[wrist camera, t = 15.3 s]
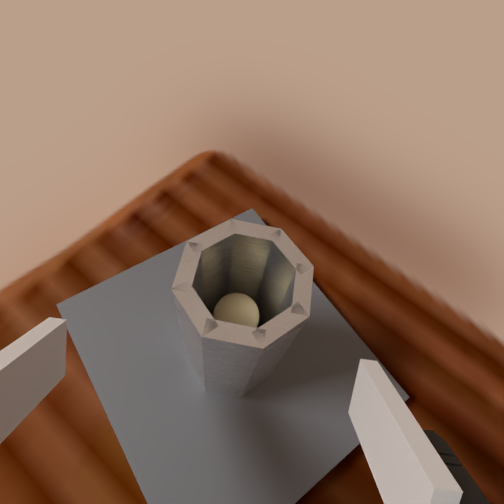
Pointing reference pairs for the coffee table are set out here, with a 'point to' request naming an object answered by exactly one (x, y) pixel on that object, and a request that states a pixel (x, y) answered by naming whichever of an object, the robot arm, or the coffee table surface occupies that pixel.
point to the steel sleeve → (246, 282)
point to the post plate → (214, 404)
